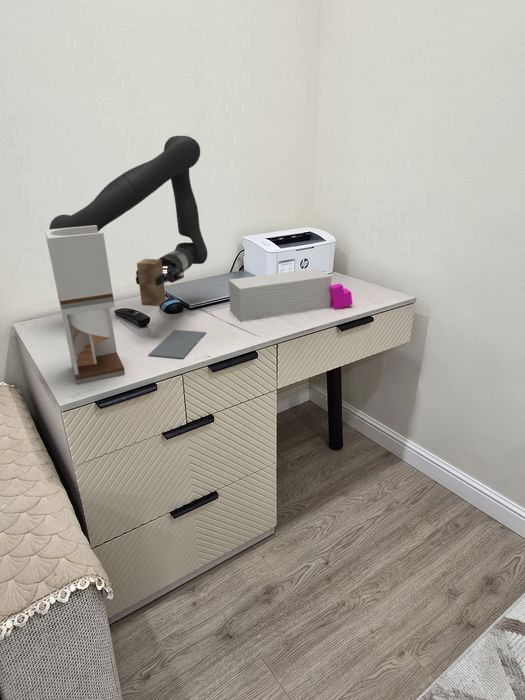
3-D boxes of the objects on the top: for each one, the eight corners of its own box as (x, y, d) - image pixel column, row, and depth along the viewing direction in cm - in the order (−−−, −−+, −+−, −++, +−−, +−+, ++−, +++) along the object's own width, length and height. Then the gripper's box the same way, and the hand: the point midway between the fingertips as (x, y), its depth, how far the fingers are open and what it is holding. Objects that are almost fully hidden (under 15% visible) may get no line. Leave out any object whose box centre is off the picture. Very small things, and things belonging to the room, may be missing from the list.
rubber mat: (148, 356, 131) (148, 354, 131) (174, 330, 147) (174, 329, 146) (183, 359, 129) (183, 357, 128) (206, 333, 144) (205, 332, 144)
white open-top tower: (77, 384, 117) (47, 238, 102) (72, 366, 126) (44, 230, 111) (125, 374, 121) (103, 233, 107) (117, 358, 130) (96, 225, 115)
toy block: (352, 304, 162) (350, 283, 159) (335, 309, 161) (332, 288, 158) (334, 290, 175) (331, 271, 172) (318, 295, 174) (315, 276, 171)
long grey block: (315, 297, 173) (316, 268, 168) (330, 307, 164) (331, 276, 159) (230, 310, 162) (228, 279, 157) (240, 321, 153) (239, 288, 148)
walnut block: (141, 305, 137) (136, 263, 132) (149, 299, 141) (145, 258, 136) (158, 306, 136) (153, 264, 131) (165, 300, 140) (161, 259, 135)
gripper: (148, 252, 148) (121, 266, 133) (193, 254, 145) (170, 269, 130) (151, 276, 151) (125, 293, 136) (194, 279, 148) (172, 296, 133)
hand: (147, 281), depth 133 cm, fingers closed on walnut block, 5 cm apart
